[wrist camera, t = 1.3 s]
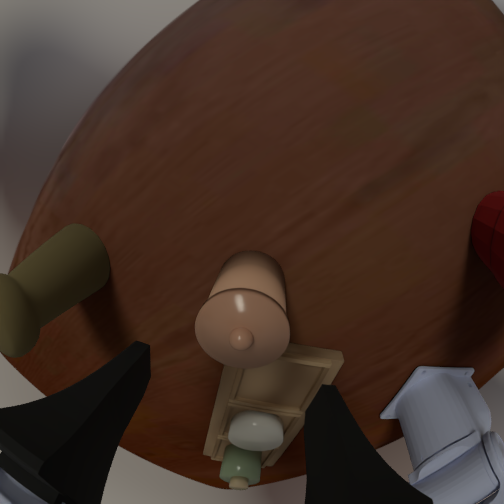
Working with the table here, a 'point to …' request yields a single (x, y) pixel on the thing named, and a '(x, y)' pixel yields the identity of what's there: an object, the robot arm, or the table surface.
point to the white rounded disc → (256, 430)
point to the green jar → (240, 467)
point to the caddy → (272, 394)
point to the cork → (49, 285)
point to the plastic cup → (490, 233)
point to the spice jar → (245, 313)
